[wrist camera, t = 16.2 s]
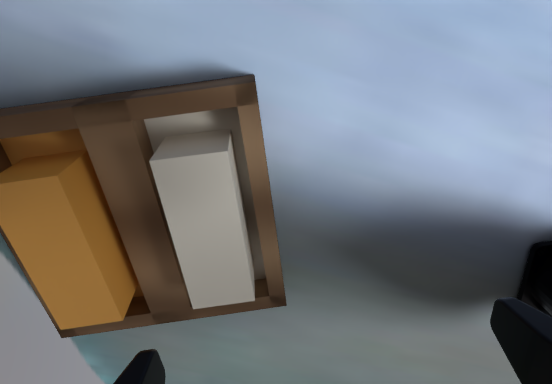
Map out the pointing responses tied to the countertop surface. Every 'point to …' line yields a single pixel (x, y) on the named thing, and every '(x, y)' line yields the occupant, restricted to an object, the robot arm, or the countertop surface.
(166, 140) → the off-white square pillar
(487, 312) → the countertop surface
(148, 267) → the slot board
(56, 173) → the tall amber prism
